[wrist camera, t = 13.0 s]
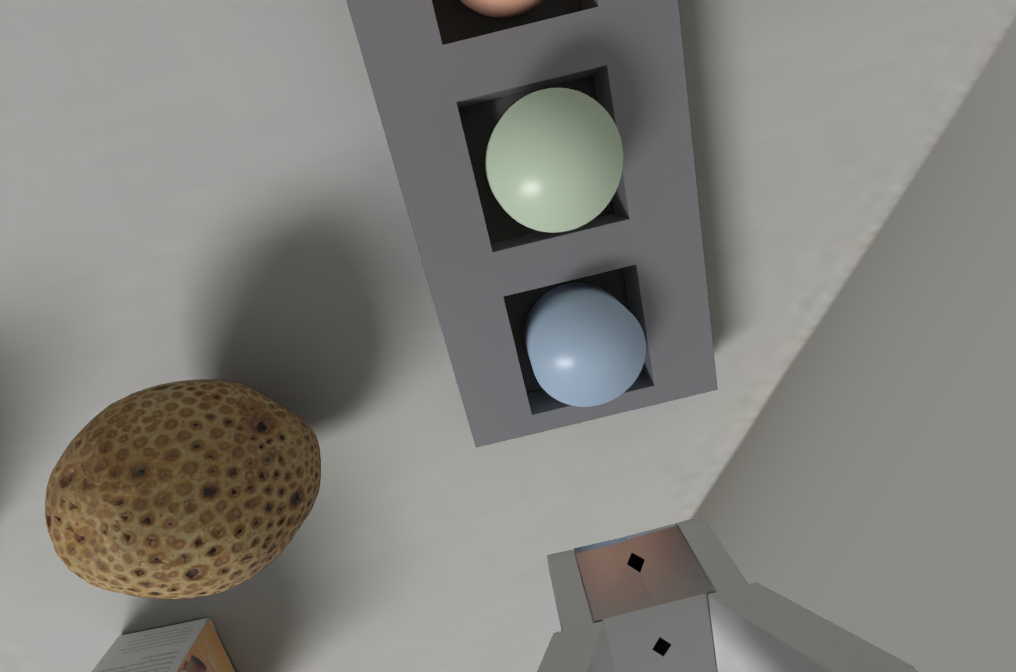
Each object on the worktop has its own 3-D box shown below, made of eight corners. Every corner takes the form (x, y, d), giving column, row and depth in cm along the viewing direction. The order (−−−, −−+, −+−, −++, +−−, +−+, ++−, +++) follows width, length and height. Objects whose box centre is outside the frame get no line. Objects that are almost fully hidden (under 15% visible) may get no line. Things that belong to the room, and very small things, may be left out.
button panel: (319, -127, 19) (297, -168, 17) (629, -205, 19) (651, -257, 17) (475, 422, 27) (476, 447, 25) (695, 369, 27) (717, 389, 25)
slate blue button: (514, 296, 24) (519, 313, 21) (617, 271, 24) (637, 285, 21) (536, 390, 26) (544, 418, 23) (632, 366, 26) (653, 392, 23)
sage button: (471, 114, 21) (472, 106, 18) (592, 84, 21) (611, 72, 18) (500, 235, 22) (504, 246, 19) (611, 208, 22) (632, 215, 19)
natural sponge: (330, 334, 25) (244, 438, 16) (354, 489, 28) (295, 655, 18) (138, 345, 24) (-70, 460, 15) (183, 501, 27) (32, 679, 18)
